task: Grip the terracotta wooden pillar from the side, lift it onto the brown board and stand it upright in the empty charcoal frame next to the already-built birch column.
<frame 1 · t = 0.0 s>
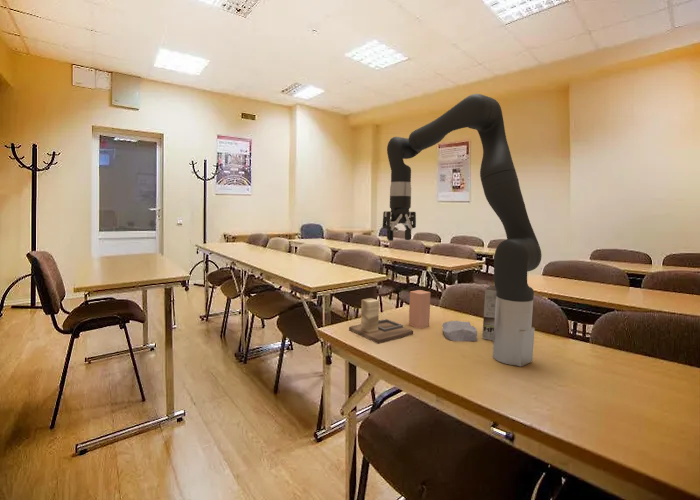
hand: (399, 240, 136), 29 cm above the table, tool pointing down, fingers open, 8 cm apart
coffee box: (495, 337, 121), on the table
stone block: (457, 336, 122), on the table
brown board: (380, 332, 124), on the table
birch column: (369, 333, 122), resting on brown board
slot frame: (385, 329, 127), resting on brown board
terracotta pillar: (418, 325, 132), on the table
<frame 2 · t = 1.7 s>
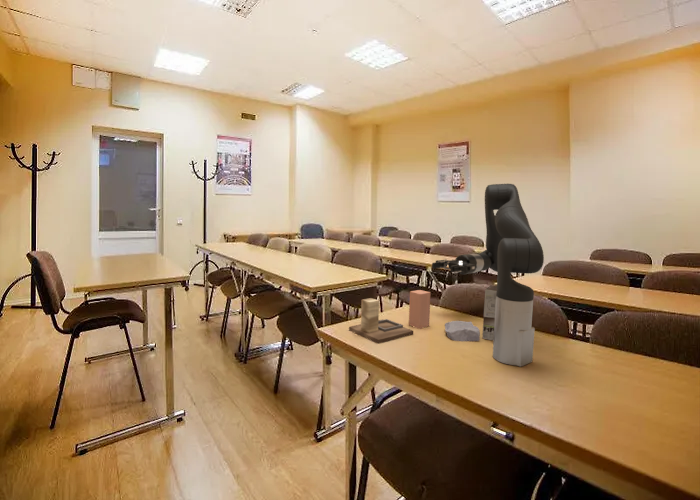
hand: (441, 267, 136), 20 cm above the table, tool horizontal, fingers open, 8 cm apart
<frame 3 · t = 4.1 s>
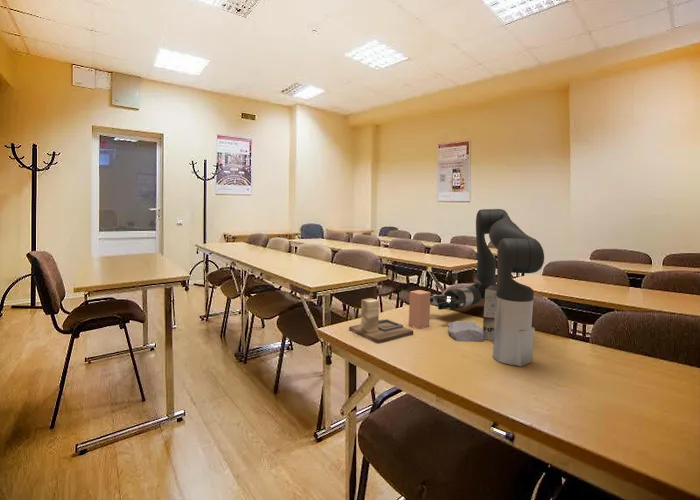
hand: (429, 304, 134), 7 cm above the table, tool horizontal, fingers open, 8 cm apart
stone block: (463, 336, 122), on the table
everything else where it was.
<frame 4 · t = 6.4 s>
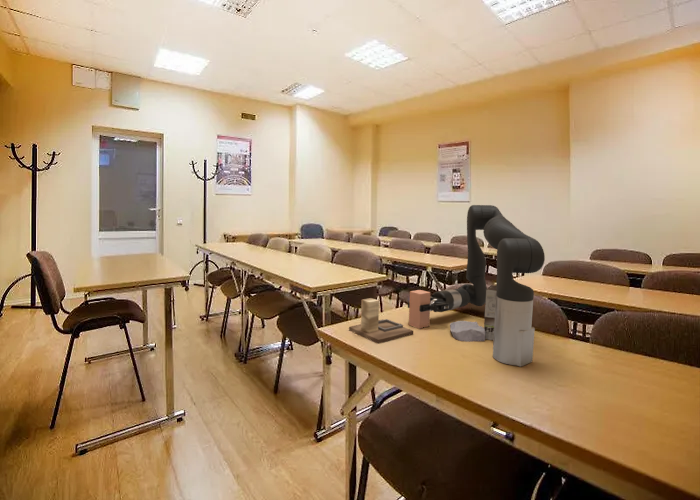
hand: (414, 306, 129), 7 cm above the table, tool horizontal, fingers closed on terracotta pillar, 5 cm apart
terracotta pillar: (419, 325, 132), on the table, touching gripper
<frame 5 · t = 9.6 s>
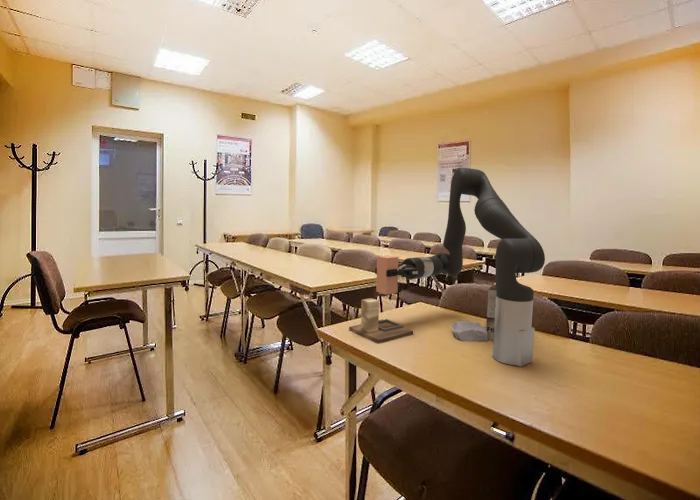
hand: (381, 272, 123), 20 cm above the table, tool horizontal, fingers closed on terracotta pillar, 5 cm apart
terracotta pillar: (386, 292, 125), point 13 cm above the table, touching gripper
when the fingers open (9 cm above the table, at t = 13.0 s): terracotta pillar drops 1 cm, resting on brown board.
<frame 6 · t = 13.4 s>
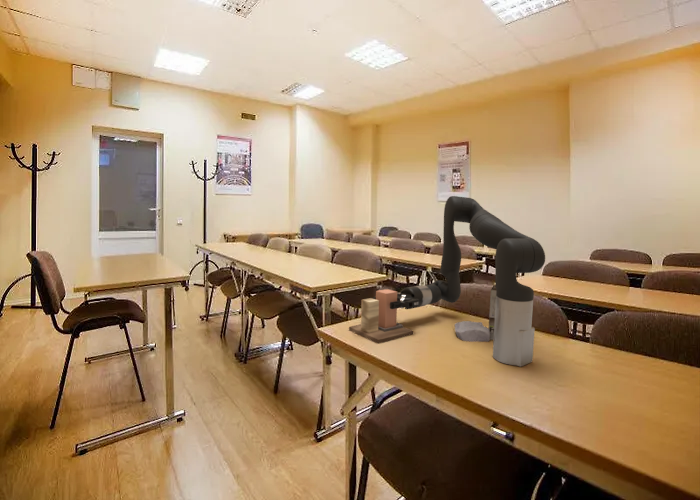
hand: (381, 303, 124), 10 cm above the table, tool horizontal, fingers open, 8 cm apart
terracotta pillar: (385, 326, 126), point 1 cm above the table, touching brown board
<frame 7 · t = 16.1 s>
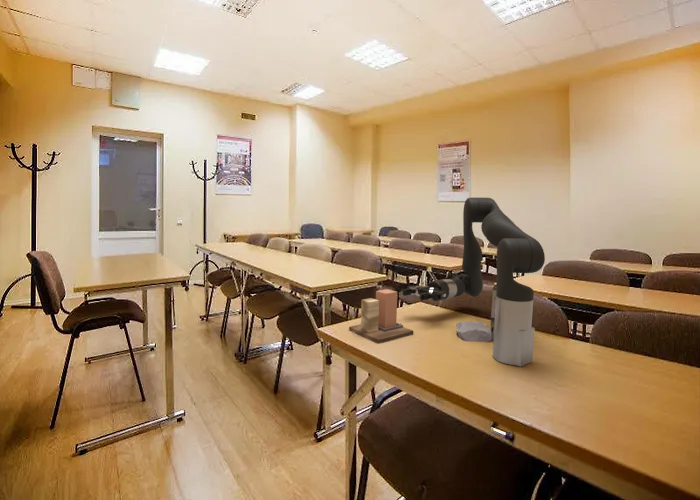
hand: (411, 294, 132), 11 cm above the table, tool horizontal, fingers open, 8 cm apart
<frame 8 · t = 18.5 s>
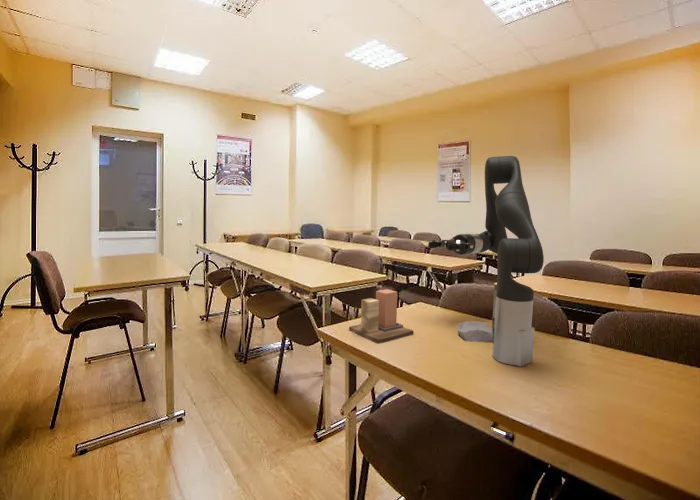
hand: (438, 246, 129), 28 cm above the table, tool horizontal, fingers open, 8 cm apart
at the end: terracotta pillar 0.0 cm off-centre on the slot frame, point 1.2 cm above the slot frame's base; terracotta pillar tilted 0°; the gripper is holding nothing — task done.
